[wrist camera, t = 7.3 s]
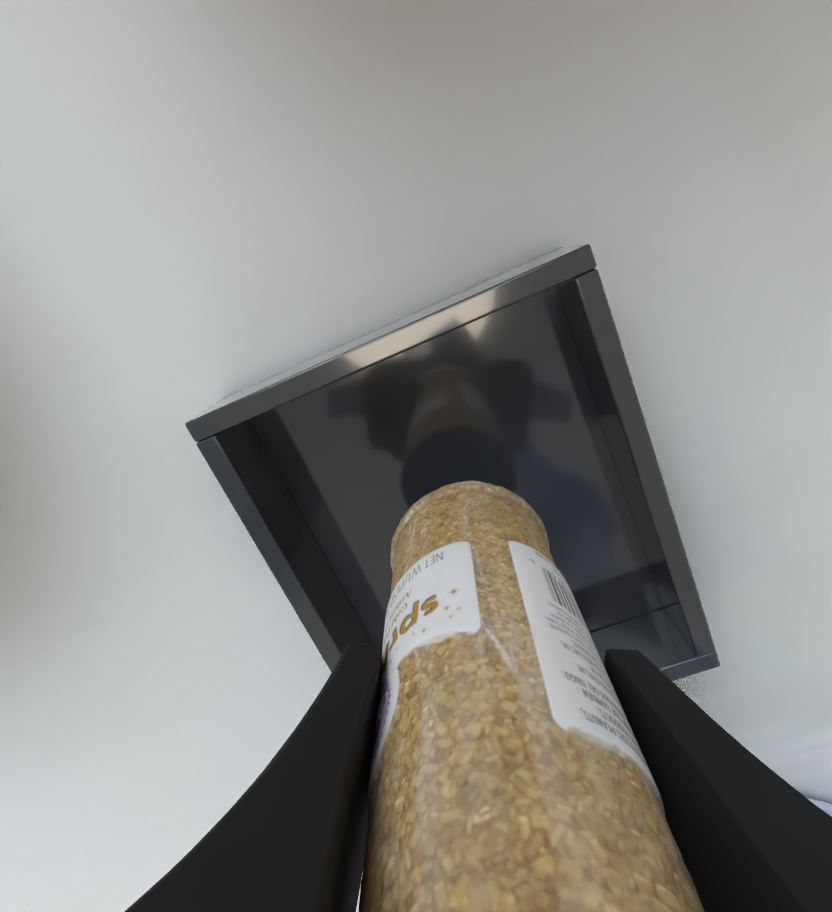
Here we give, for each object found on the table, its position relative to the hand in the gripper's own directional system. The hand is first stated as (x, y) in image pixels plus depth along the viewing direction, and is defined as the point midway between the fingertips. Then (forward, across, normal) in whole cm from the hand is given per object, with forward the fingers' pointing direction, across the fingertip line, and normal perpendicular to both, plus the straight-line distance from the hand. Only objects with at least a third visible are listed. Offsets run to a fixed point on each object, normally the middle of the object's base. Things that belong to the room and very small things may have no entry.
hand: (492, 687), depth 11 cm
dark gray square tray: (+8, 0, 0) cm, 8 cm away
